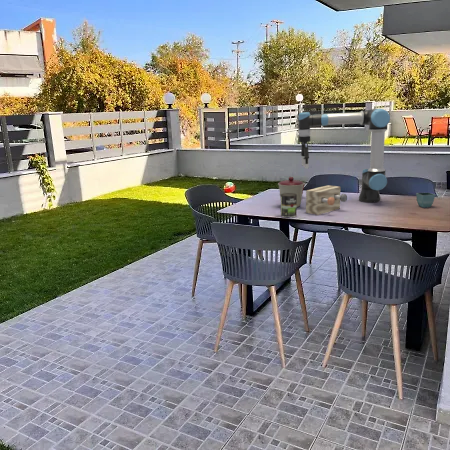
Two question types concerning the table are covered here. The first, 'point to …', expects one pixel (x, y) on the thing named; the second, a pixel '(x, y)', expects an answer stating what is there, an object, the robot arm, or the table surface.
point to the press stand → (315, 197)
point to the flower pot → (425, 199)
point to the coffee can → (288, 205)
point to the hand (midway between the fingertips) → (305, 167)
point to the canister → (292, 188)
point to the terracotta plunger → (328, 200)
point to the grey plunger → (341, 197)
